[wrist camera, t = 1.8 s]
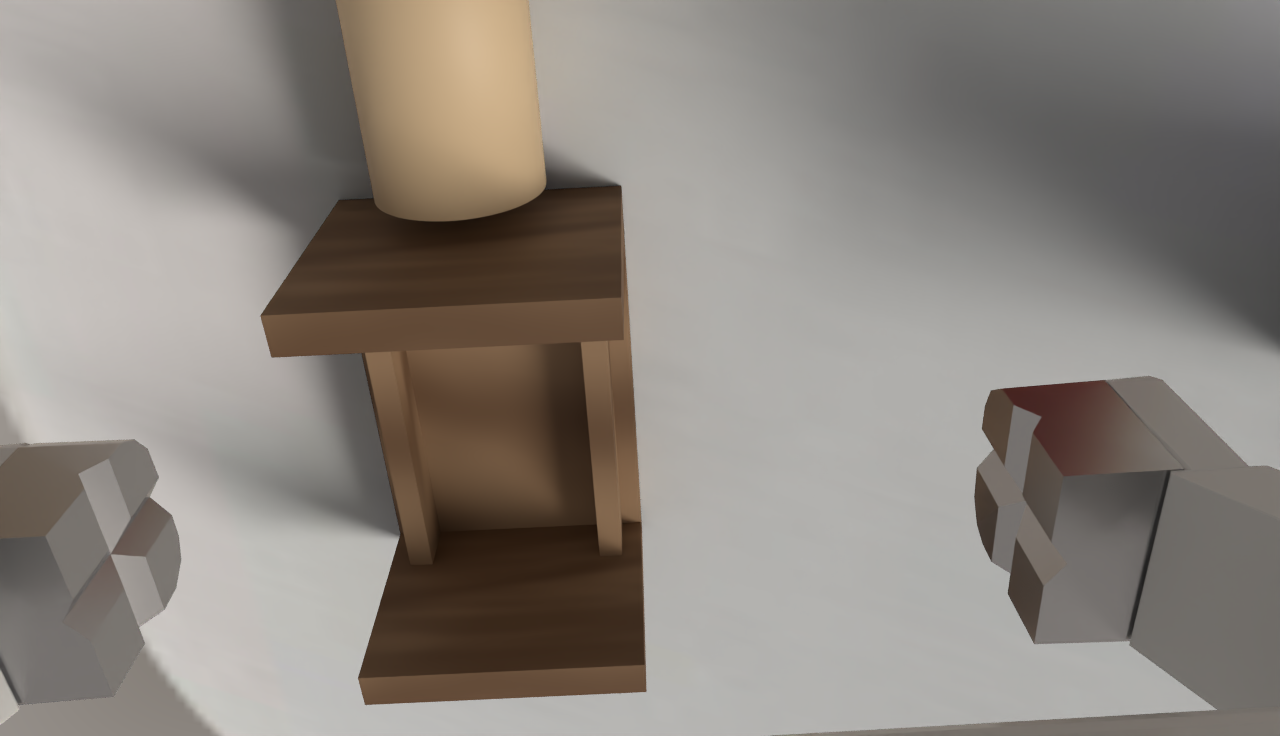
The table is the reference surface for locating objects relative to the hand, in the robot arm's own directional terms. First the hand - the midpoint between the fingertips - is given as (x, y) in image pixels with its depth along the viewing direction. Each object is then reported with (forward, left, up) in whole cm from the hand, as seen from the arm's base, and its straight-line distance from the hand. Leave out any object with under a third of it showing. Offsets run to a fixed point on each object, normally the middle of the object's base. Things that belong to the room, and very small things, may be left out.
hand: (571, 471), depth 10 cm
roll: (-1, -4, -23) cm, 23 cm away
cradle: (+12, -4, -22) cm, 26 cm away
